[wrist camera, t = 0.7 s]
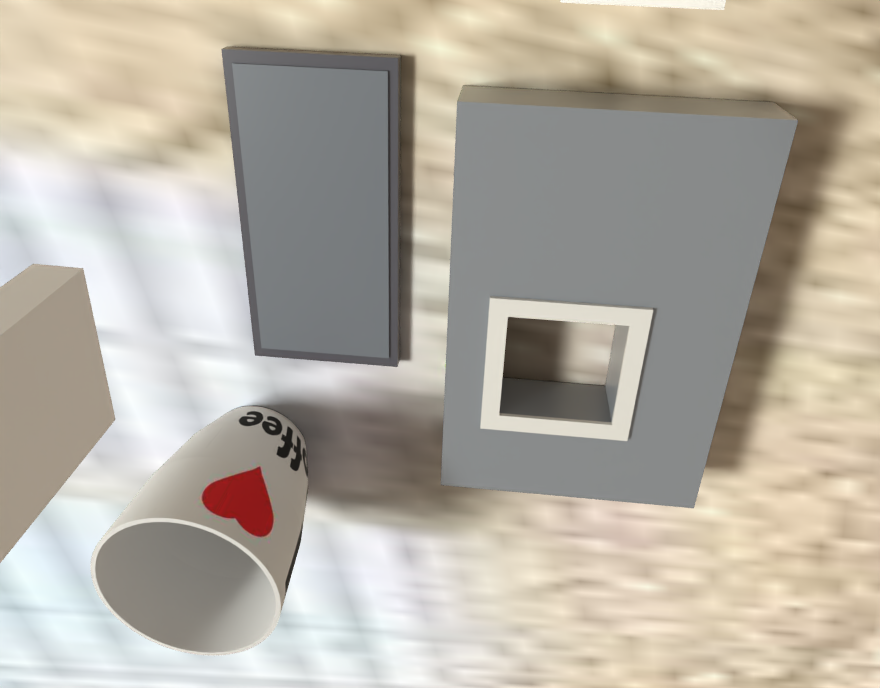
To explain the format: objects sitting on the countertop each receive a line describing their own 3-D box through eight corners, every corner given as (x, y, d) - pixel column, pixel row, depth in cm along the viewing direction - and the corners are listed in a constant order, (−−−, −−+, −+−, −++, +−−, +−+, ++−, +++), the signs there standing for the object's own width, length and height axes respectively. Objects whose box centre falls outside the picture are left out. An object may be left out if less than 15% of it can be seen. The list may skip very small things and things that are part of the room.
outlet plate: (463, 85, 29) (456, 102, 27) (773, 102, 29) (800, 121, 26) (446, 446, 38) (440, 487, 36) (682, 467, 38) (694, 510, 35)
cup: (360, 480, 40) (315, 633, 31) (237, 518, 42) (164, 671, 34) (284, 360, 37) (211, 495, 28) (155, 409, 39) (50, 547, 30)
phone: (231, 44, 30) (220, 49, 29) (402, 53, 30) (398, 58, 28) (262, 343, 37) (254, 356, 36) (401, 354, 37) (397, 367, 35)
